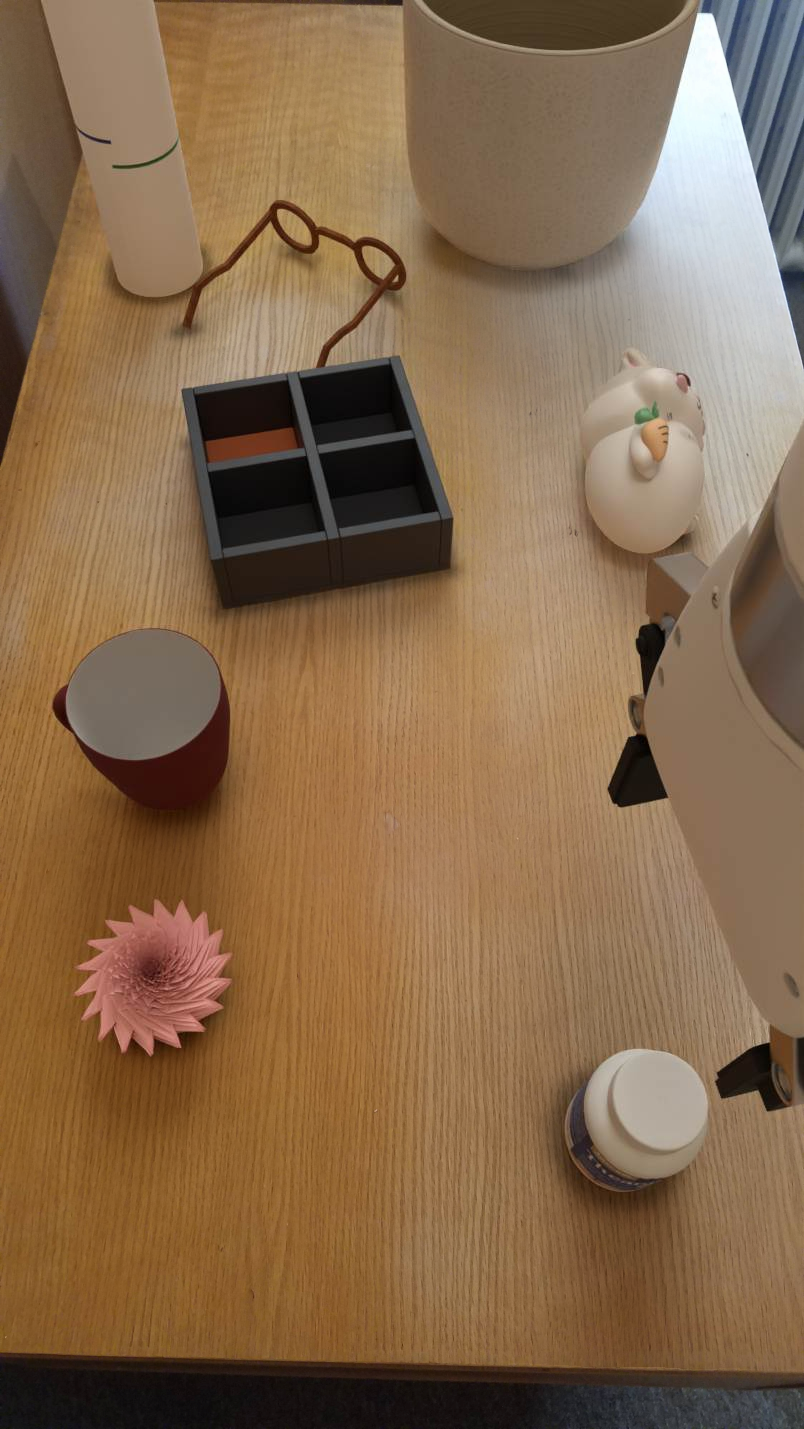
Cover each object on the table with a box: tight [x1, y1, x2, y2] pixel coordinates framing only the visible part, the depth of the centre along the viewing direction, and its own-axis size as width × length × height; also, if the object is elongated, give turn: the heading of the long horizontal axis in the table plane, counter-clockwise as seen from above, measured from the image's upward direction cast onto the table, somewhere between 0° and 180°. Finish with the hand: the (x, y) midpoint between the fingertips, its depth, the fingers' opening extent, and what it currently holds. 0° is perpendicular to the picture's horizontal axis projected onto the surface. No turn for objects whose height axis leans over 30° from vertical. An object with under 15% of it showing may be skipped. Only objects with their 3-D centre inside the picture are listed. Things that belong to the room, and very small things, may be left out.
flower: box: [73, 898, 234, 1057], centre depth 52 cm, size 8×8×6 cm
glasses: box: [181, 199, 407, 368], centre depth 79 cm, size 13×13×5 cm
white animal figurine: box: [579, 347, 706, 554], centre depth 68 cm, size 10×8×15 cm
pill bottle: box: [564, 1048, 709, 1193], centre depth 46 cm, size 5×5×10 cm
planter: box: [402, 0, 701, 271], centre depth 79 cm, size 21×21×19 cm
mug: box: [51, 627, 231, 812], centre depth 56 cm, size 10×8×10 cm
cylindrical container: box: [40, 0, 204, 298], centre depth 73 cm, size 7×7×25 cm
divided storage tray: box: [180, 354, 454, 610], centre depth 69 cm, size 15×15×5 cm
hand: (704, 923), depth 33 cm, fingers open, 9 cm apart
